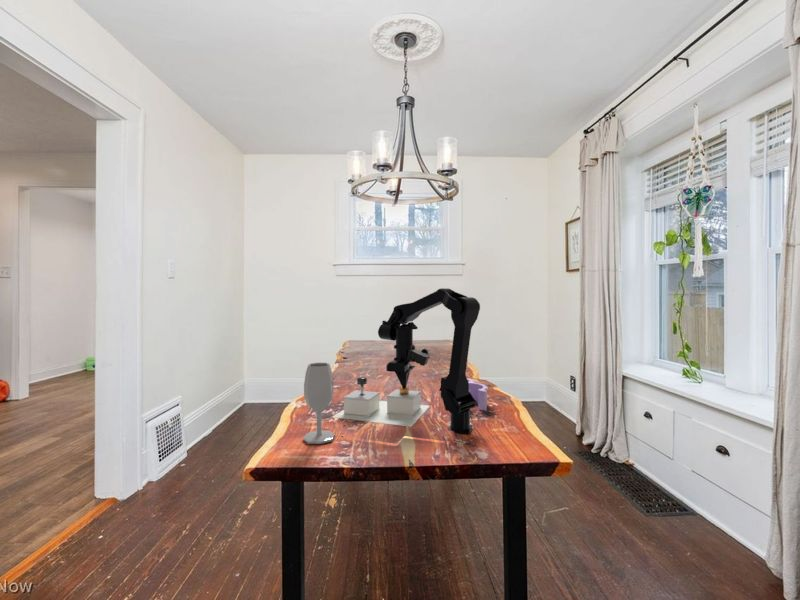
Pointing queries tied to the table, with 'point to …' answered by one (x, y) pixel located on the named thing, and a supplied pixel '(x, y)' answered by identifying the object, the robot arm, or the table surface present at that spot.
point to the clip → (478, 394)
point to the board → (387, 416)
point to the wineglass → (318, 398)
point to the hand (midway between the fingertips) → (404, 387)
